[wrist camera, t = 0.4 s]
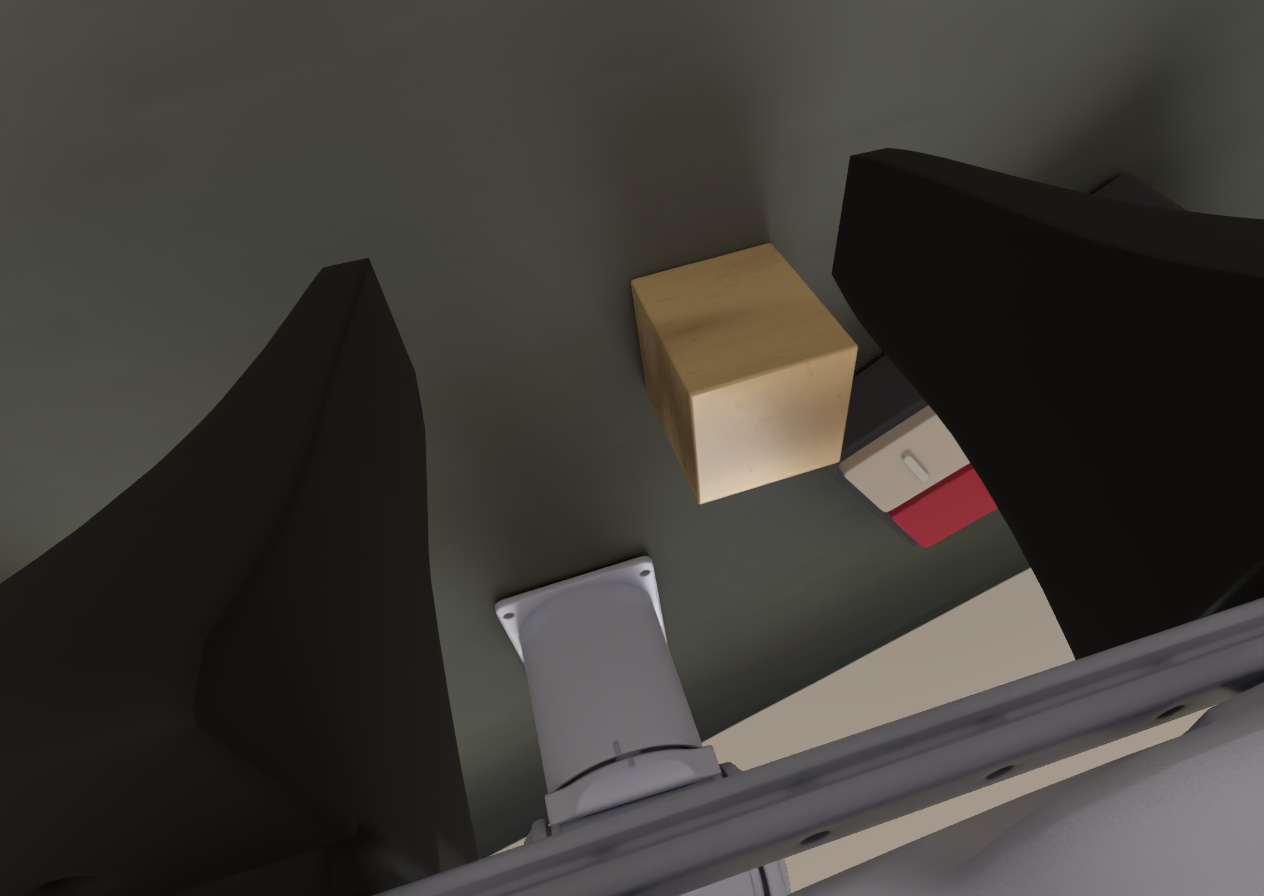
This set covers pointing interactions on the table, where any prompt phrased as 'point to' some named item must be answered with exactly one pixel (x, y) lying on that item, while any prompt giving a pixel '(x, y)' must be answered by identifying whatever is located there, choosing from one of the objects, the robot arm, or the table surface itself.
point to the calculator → (923, 440)
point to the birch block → (743, 370)
